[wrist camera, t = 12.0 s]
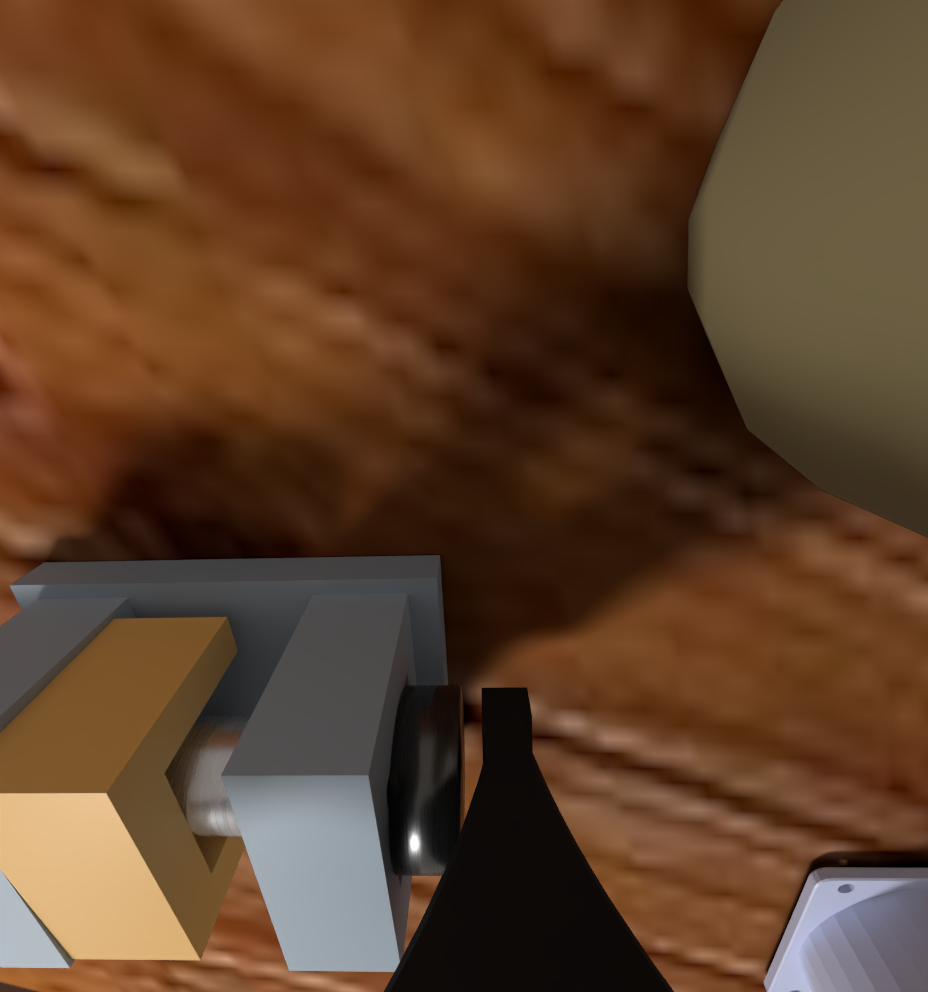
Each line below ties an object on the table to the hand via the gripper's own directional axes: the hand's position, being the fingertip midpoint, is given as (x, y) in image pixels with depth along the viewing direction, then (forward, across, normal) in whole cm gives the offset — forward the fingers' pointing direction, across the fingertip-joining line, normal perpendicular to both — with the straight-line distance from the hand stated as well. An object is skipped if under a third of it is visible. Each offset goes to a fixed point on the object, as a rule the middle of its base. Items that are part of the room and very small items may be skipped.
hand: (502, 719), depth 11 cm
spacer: (+1, +7, 0) cm, 7 cm away
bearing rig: (+2, +6, 0) cm, 7 cm away
